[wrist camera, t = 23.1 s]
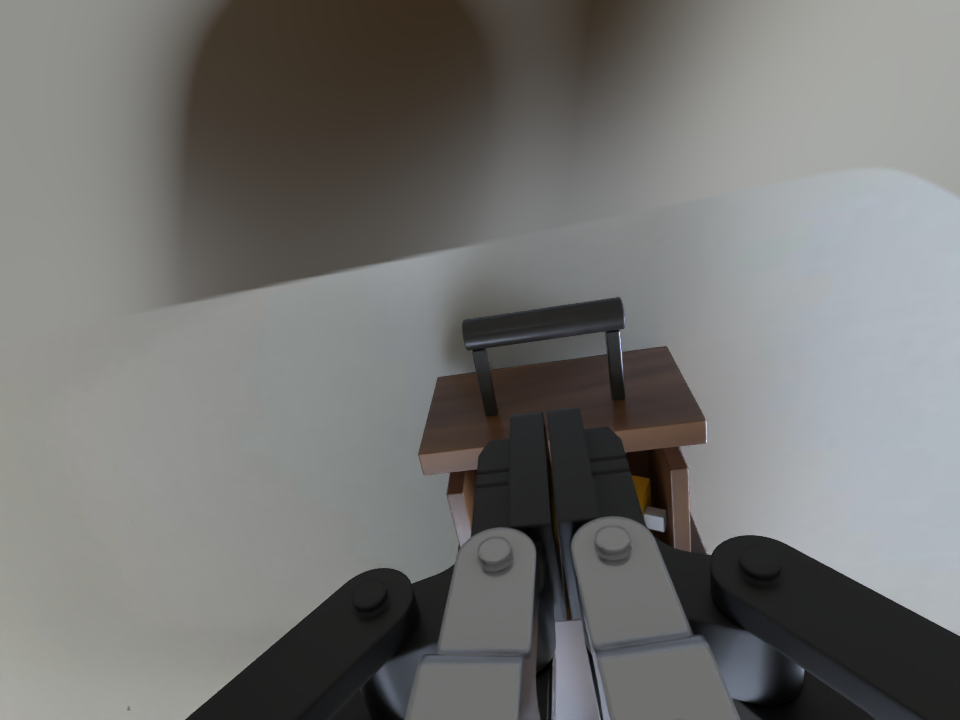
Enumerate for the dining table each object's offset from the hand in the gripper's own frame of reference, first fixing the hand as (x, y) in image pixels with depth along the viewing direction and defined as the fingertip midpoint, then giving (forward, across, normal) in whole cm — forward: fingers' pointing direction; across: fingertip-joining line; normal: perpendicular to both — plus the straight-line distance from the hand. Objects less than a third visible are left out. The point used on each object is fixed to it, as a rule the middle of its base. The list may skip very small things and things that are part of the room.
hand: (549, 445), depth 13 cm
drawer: (+18, 0, +12) cm, 22 cm away
